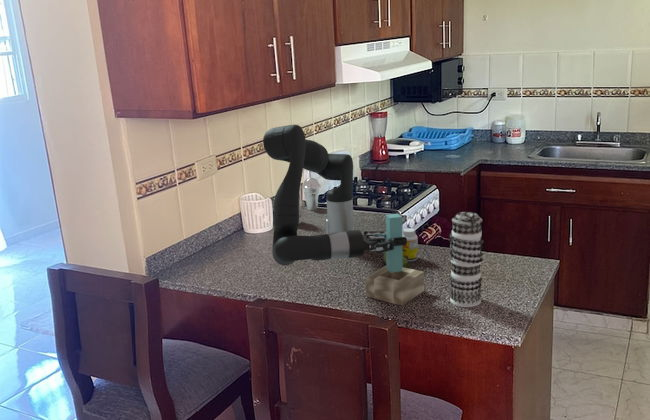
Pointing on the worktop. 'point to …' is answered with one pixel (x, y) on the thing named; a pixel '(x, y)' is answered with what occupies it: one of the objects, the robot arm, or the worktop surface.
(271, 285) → the worktop surface
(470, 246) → the decorative candle
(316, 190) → the cup with straw
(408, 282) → the socket block
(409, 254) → the supplement bottle
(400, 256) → the peg
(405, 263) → the pear
